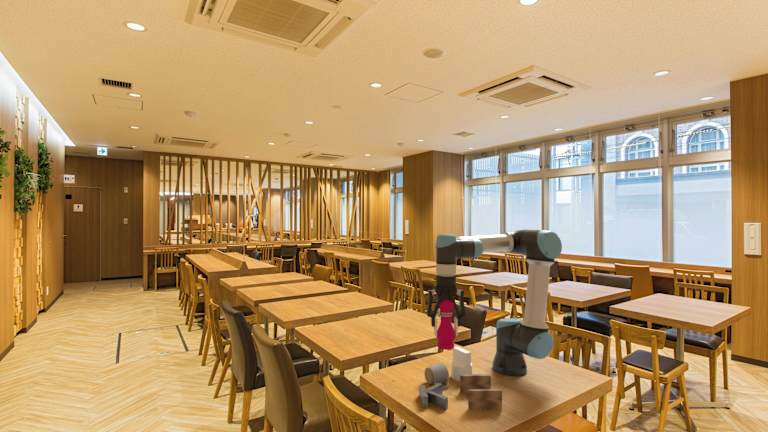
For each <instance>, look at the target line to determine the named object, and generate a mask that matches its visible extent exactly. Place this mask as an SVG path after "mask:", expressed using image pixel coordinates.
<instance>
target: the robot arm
mask: <svg viewBox="0 0 768 432" xmlns="http://www.w3.org/2000/svg"><path fill="white" fill-rule="evenodd" d="M435 241H436V242H435V251H436V252H435V254H436V257H435V258H436V259H435V260H436V261H435V266H436V268H435V270H436V271H435V273H436V275H435V287H434V289H428V290H427V295H428V298H427V307H426V316H427V317H429V318H430V321H431V323H430V324H431V326H432V328H433V335H434V337H436V336H437V330H438V317H436V316H437V314H438V311H439V310H440V309H439V306H440V303H441V302H442V300H445V299H448V300H451V301H452V302H453V304H454V309H453V311H454V314H455V316H454V318H453V322H454V324H453V325H454V326H453V329H454V331H455V337H458V336H459V335H458V334H459V333H458V329H459V327H461V319H462V318H464V317H466V309H465V299H464V295H465V291H464V290H463V289H458V288H457V276H456V274H457V260H458V259H476V258H479V257H481V256H482V254H483V253H495V252H497V253H498V252H502V253H504V254H518V255H523V256H525V261H526V262H527V264H528V272H527V283H526V295H525V305H524V306H525V307H524V315H523V319H522V318H515V317H511V318H508V317H507V318H500V319H497V321H496V327H495V337H496V338H495V339H496V343H495V344H496V351H495V354H494V358H493V360H492V369H493V371H495V372H496V373H499V374H502V375H506V376H515V377H516V376H517V377H518V376H523V375H526V374H527V373H528V366H527V362H526V359H525V355H526V356H528V357H530V358H532V359H536V360H543V359H546V358H547V357H548V356H549V355H550V354H551V353H552V351H553V350H554V346H555V345H554V344H555V342H554V341H555V340H554V337H553V336H552V334H551V333H550V332H549V328H550V327H549V324H547V321H546V320H547V307H548V305H547V304H548V296H549V295H548V293H549V284H550V283H549V282H550V271H551V270H550V269H551V266H553V264H555V260H556V259H557V258H559V257H560V255H561V253H562V250H563V244H562V240H561V238H560V237H559V235H558V234H557V233H556V232H554V231H552V230H546V229H518V230H513V231H512V230H511V231H504V232H501V233H500V234H486V235H468V236H465V235H464V236H457V235H456V234H453V233H451V234H450V233H449V234H447V233H446V234H444V233H440V234H438V235H436V239H435ZM435 293H436V294H437V299H436V302H435V304H434V305H433V300H434V296H435ZM455 295H457V296H458V301H459V308H458V306H457V303H456V300H455V298H454V297H455ZM433 306H434V307H433ZM432 308H433V310H432Z"/></svg>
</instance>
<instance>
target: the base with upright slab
mask: <svg viewBox="0 0 768 432" xmlns="http://www.w3.org/2000/svg"><path fill="white" fill-rule="evenodd" d="M450 368H451V369H450V370H451V371H450V373H451V374H450V375H451V376H450V377H451V378H452V379H453V380H454V381H457V382H460V374H473V363H472V352H471V351H469V350H467V349H465V348H463V347H460V346H454V348H453V349H452V361H451V365H450Z"/></svg>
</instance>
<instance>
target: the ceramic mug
mask: <svg viewBox="0 0 768 432" xmlns="http://www.w3.org/2000/svg"><path fill="white" fill-rule="evenodd" d="M424 379H425V381H426V382H427V384H429V385H431V386H433V385H435V384H437V383H441V384H444V383H446V385H442V390H446V389H447V388H448V387H449V379H450V374H449V370H448V368H447V366H446V364H445V363H443V362H440V363H437V364H433V365H429V366H427V367H426V368H425V369H424Z"/></svg>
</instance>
